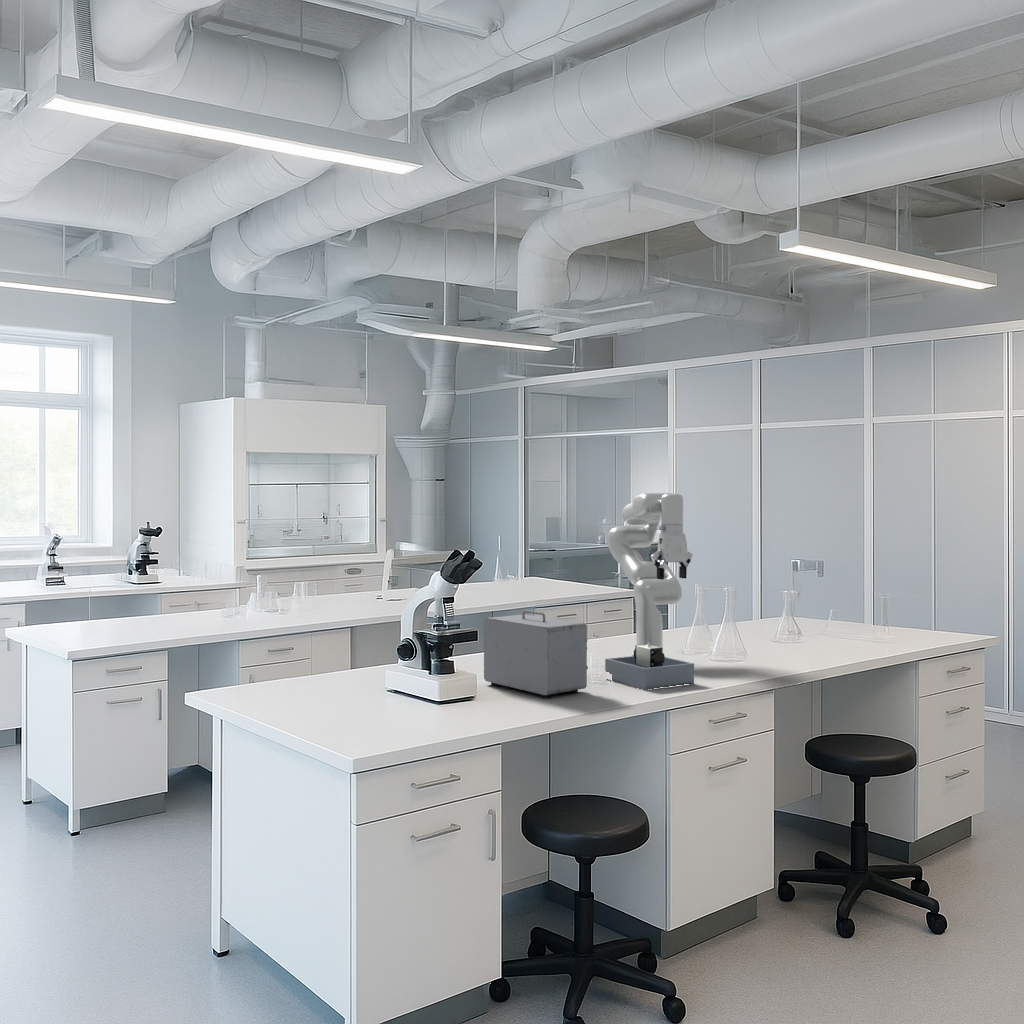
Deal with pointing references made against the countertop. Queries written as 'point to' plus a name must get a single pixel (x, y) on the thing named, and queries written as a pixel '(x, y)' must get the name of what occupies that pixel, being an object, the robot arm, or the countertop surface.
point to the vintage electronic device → (535, 653)
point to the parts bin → (649, 673)
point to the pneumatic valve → (649, 655)
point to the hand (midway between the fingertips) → (671, 578)
